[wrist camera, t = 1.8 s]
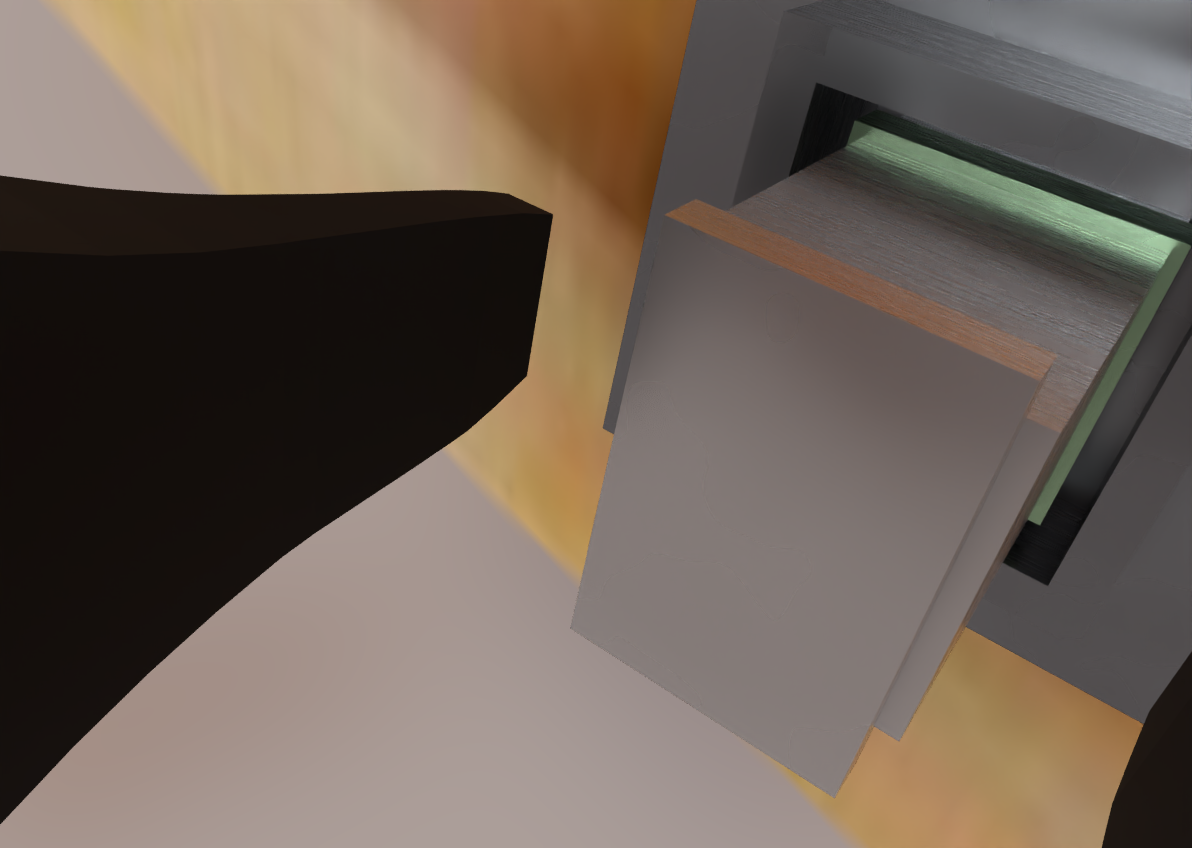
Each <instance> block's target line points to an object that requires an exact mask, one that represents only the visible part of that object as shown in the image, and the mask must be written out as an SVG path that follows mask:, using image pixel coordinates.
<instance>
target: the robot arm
mask: <svg viewBox="0 0 1192 848" xmlns="http://www.w3.org/2000/svg"><path fill="white" fill-rule="evenodd" d="M552 219H553V214H551V213H549V212H547V211H544V210H542V209H540V208H538V207H536V206H534V205H531V204H529V203H527V202H525V201H523V200H521V199H518V198H516V197H514V196H512V195H510V194H505V193H497V192H488V191H467V190H430V191H393V192H364V193H335V194H262V195H208V194H180V193H160V192H145V191H130V190H116V189H104V188H94V187H84V186H77V185H69V184H60V183H54V182H45V181H37V180H30V179H23V178H14V177H7V176H0V824H1V823H2V822H3V821H4V820H5V819H6V818H7V817H8V816H9V815H10V813H11V812H12V811H13V810H14V809H15V808H16V807H17V806H18V805H19V804H20V803H21V802H22V801H23V800H24V798H25V797H26V796H27V795H28V794H29V793H30V792H31V791H32V790H33V789H34V788H35V787H36V786H37V785H38V784H39V783H40V782H41V781H42V780H43V778H44V777H45V776H46V775H47V774H48V773H49V772H50V771H51V770H52V769H53V768H54V767H55V766H56V764H58V762H59V761H60V760H61V759H62V758H63V757H64V756H65V755H66V754H67V753H68V752H69V751H70V750H71V749H72V748H73V747H74V746H75V745H76V744H77V743H78V742H79V741H80V740H81V739H82V738H83V737H84V736H85V735H86V734H87V733H88V732H89V731H90V730H91V729H92V728H93V727H94V726H95V725H96V724H97V723H98V722H99V721H100V720H101V719H102V718H103V717H104V716H105V715H106V714H107V713H108V712H109V711H110V710H111V709H112V708H114V707H115V706H116V705H117V704H118V703H119V702H120V701H121V700H122V699H123V698H124V697H125V696H126V695H127V694H128V693H129V692H130V691H131V690H132V689H133V688H134V687H135V686H136V685H137V684H138V683H139V682H140V681H141V680H142V679H143V678H144V677H145V676H146V675H147V674H148V673H149V672H150V671H152V670H153V669H154V668H155V667H156V666H157V665H158V664H159V663H160V662H162V661H163V660H164V659H165V658H166V657H167V656H168V655H169V654H170V653H172V652H173V651H174V650H175V649H176V648H177V647H178V646H179V645H180V644H182V642H184V641H185V640H186V639H187V638H188V637H189V636H190V635H191V634H193V633H194V632H195V631H196V630H197V629H198V628H199V627H200V626H201V625H203V624H204V623H205V622H206V621H207V620H208V619H209V618H210V617H211V616H212V615H214V614H215V613H216V612H217V611H218V610H219V609H221V608H222V607H223V606H224V605H225V604H226V603H228V602H229V601H230V600H231V599H233V598H234V597H235V596H236V595H237V594H238V593H240V592H241V591H242V590H243V589H244V588H246V587H247V586H248V585H249V584H250V583H251V582H253V581H254V580H255V579H256V578H257V577H259V576H260V575H261V574H262V573H263V572H265V571H266V570H267V569H268V568H269V567H271V566H272V565H273V564H274V563H275V562H277V561H278V560H279V559H280V558H282V557H283V556H284V555H286V554H287V553H288V552H290V551H291V550H292V549H294V548H295V547H297V546H298V545H299V544H301V543H302V542H303V541H305V540H306V539H307V538H309V537H310V536H312V535H313V534H314V533H316V532H317V531H319V530H320V529H322V528H323V527H325V526H326V525H328V524H329V523H331V522H332V521H334V520H335V519H337V518H339V517H340V516H342V515H343V514H344V513H346V512H348V511H349V510H351V509H352V508H353V507H355V506H357V505H358V504H360V503H361V502H363V501H364V500H366V499H367V498H369V497H370V496H372V495H373V494H375V493H376V492H378V491H379V490H381V489H382V488H384V487H385V486H387V485H388V484H390V483H392V482H393V481H395V480H396V479H398V478H399V477H400V476H402V475H404V474H405V473H407V472H408V471H410V470H411V469H413V468H414V467H416V466H417V465H419V464H420V463H422V462H423V461H424V460H426V459H427V458H429V457H430V456H432V455H433V454H435V453H436V452H438V451H439V450H441V449H442V448H444V447H445V446H447V445H448V444H450V443H451V442H452V441H454V440H455V439H457V438H458V437H459V436H461V435H462V434H464V433H465V432H467V431H468V430H469V429H470V428H471V427H472V426H474V425H475V424H476V423H477V422H478V421H479V420H480V419H482V418H483V417H484V416H485V415H486V414H487V413H488V412H489V411H491V410H492V409H493V408H494V407H495V406H496V405H497V404H498V403H499V402H500V401H501V400H502V399H503V398H504V397H505V396H507V395H508V394H509V393H510V392H511V391H512V390H513V389H514V388H515V387H516V386H517V385H518V384H519V383H520V382H521V381H522V380H523V379H524V378H525V377H526V376H527V372H528V365H529V359H530V353H531V347H532V341H533V335H534V329H535V323H536V316H537V310H538V304H539V298H540V292H541V286H542V280H543V274H544V268H545V261H546V255H547V249H548V243H549V237H550V231H551V225H552ZM1102 848H1192V652H1191V653H1190V654H1189V656H1188V657H1187V659H1186V660H1185V662H1184V663H1183V664H1182V666H1181V667H1180V669H1179V670H1178V671H1177V673H1176V674H1175V676H1174V677H1173V678H1172V680H1171V681H1170V683H1169V684H1168V685H1167V687H1166V688H1165V690H1164V691H1163V692H1162V694H1161V695H1160V697H1159V698H1158V699H1157V701H1156V702H1155V704H1154V705H1153V706H1152V708H1151V709H1150V711H1149V713H1148V715H1147V718H1146V720H1145V723H1144V725H1143V728H1142V730H1141V732H1140V735H1139V737H1138V740H1137V742H1136V745H1135V747H1134V750H1133V752H1132V755H1131V757H1130V759H1129V762H1128V765H1127V767H1126V770H1125V772H1124V775H1123V777H1122V780H1121V783H1120V785H1119V788H1118V790H1117V793H1116V796H1115V798H1114V801H1113V803H1112V807H1111V811H1110V815H1109V819H1108V824H1107V828H1106V832H1105V836H1104V840H1103V845H1102Z"/></svg>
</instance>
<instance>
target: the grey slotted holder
mask: <svg viewBox="0 0 1192 848" xmlns="http://www.w3.org/2000/svg"><path fill="white" fill-rule="evenodd" d="M877 109H878V110H881V111H884V112H886V113H889V114H892V115H895V116H897V117H901V116H903V115H908V116H910V117H913V118H916V119H919V120H921V121H924V122H927V123H930V124H932V125H935V126H938V127H941V128H943V129H946V130H949V131H952V132H954V133H957V134H960V135H963V136H965V137H968V138H971V139H974V140H976V141H979V142H982V143H985V144H987V145H990V146H993V147H996V148H998V149H1001V150H1004V151H1007V152H1009V153H1012V154H1015V155H1018V156H1020V157H1023V158H1026V159H1029V160H1031V161H1034V162H1037V163H1040V164H1042V165H1045V166H1048V167H1051V168H1053V169H1056V170H1059V171H1062V172H1064V173H1067V174H1070V175H1073V176H1075V177H1078V178H1081V179H1084V180H1086V181H1089V182H1092V183H1095V184H1097V185H1100V186H1103V187H1106V188H1108V189H1111V190H1114V191H1117V192H1119V193H1122V194H1125V195H1128V196H1130V197H1133V198H1136V199H1139V200H1141V201H1144V202H1147V203H1150V204H1152V205H1155V206H1158V207H1161V208H1163V209H1166V210H1169V211H1172V212H1174V213H1177V214H1180V215H1183V216H1185V217H1188V218H1191V219H1190V221H1189V223H1190V224H1192V0H697V1H696V6H695V10H694V15H693V19H692V24H691V28H690V33H689V38H688V42H687V47H686V51H685V56H684V60H683V65H682V69H681V74H680V79H679V83H678V88H677V92H676V97H675V101H674V106H673V111H672V115H671V120H670V124H669V129H668V133H667V138H666V142H665V147H664V152H663V156H662V161H661V165H660V170H659V174H658V179H657V183H656V188H655V193H654V197H653V202H652V206H651V211H650V215H649V220H648V224H647V229H646V234H645V238H644V243H643V247H642V252H641V256H640V261H639V266H638V270H637V275H636V279H635V284H634V288H633V293H632V297H631V302H630V307H629V311H628V316H627V320H626V325H625V329H624V334H623V338H622V343H621V348H620V352H619V357H618V361H617V366H616V370H615V375H614V380H613V384H612V389H611V393H610V398H609V402H608V407H607V411H606V416H605V421H604V425H603V429H605V430H607V431H609V432H611V433H613V434H614V433H615V428H616V424H617V419H618V415H619V411H620V406H621V402H622V397H623V393H624V389H625V384H626V380H627V375H628V371H629V367H630V362H631V358H632V353H633V349H634V345H635V340H636V336H637V332H638V327H639V323H640V318H641V314H642V310H643V305H644V301H645V296H646V292H647V288H648V283H649V279H650V274H651V270H652V266H653V261H654V257H655V252H656V248H657V245H658V241H659V236H660V232H661V228H662V223H663V219H664V215H665V214H667V213H669V212H671V211H673V210H675V209H677V208H679V207H681V206H683V205H685V204H687V203H689V202H691V201H693V200H695V199H698V200H700V201H702V202H704V203H707V204H709V205H711V206H714V207H716V208H718V209H721V210H723V211H726V210H728V209H730V208H732V207H734V206H736V205H738V204H739V203H741V202H743V201H745V200H747V199H749V198H751V197H752V196H754V195H756V194H758V193H760V192H762V191H764V190H765V189H767V188H769V187H771V186H773V185H775V184H777V183H778V182H780V181H782V180H784V179H786V178H788V177H790V176H791V175H793V174H795V173H797V172H799V171H801V170H803V169H805V168H806V167H808V166H810V165H812V164H814V163H816V162H818V161H819V160H821V159H823V158H825V157H827V156H829V155H831V154H832V153H834V152H836V151H838V150H840V149H842V148H844V147H845V146H847V143H848V140H849V137H850V134H851V131H852V128H853V125H854V121H855V120H857V119H859V118H861V117H863V116H865V115H867V114H869V113H871V112H873V111H875V110H877ZM966 627H967V628H969V629H971V630H973V631H975V632H976V633H978V634H980V635H982V636H984V637H986V638H987V639H989V640H991V641H993V642H995V643H997V644H998V645H1000V646H1002V647H1004V648H1006V649H1008V650H1009V651H1011V652H1013V653H1015V654H1017V655H1018V656H1020V657H1022V658H1024V659H1026V660H1028V661H1029V662H1031V663H1033V664H1035V665H1037V666H1039V667H1040V668H1042V669H1044V670H1046V671H1048V672H1050V673H1051V674H1053V675H1055V676H1057V677H1059V678H1061V679H1062V680H1064V681H1066V682H1068V683H1070V684H1072V685H1073V686H1075V687H1077V688H1079V689H1081V690H1082V691H1084V692H1086V693H1088V694H1090V695H1092V696H1093V697H1095V698H1097V699H1099V700H1101V701H1103V702H1104V703H1106V704H1108V705H1110V706H1112V707H1114V708H1115V709H1117V710H1119V711H1121V712H1123V713H1125V714H1126V715H1128V716H1130V717H1132V718H1134V719H1136V720H1137V721H1139V722H1141V723H1143V724H1144V723H1145V720H1146V718H1147V715H1148V713H1149V711H1150V709H1151V708H1152V706H1153V705H1154V704H1155V702H1156V701H1157V699H1158V698H1159V697H1160V695H1161V694H1162V692H1163V691H1164V690H1165V688H1166V687H1167V685H1168V684H1169V683H1170V681H1171V680H1172V678H1173V677H1174V676H1175V674H1176V673H1177V671H1178V670H1179V669H1180V667H1181V666H1182V664H1183V663H1184V662H1185V660H1186V659H1187V657H1188V656H1189V654H1190V653H1191V652H1192V247H1191V249H1190V250H1189V252H1188V254H1187V256H1186V258H1185V260H1184V261H1183V263H1182V265H1181V267H1180V269H1179V271H1178V272H1177V274H1176V276H1175V278H1174V280H1173V282H1172V284H1171V285H1170V287H1169V289H1168V291H1167V293H1166V295H1165V296H1164V298H1163V300H1162V302H1161V304H1160V306H1159V308H1158V309H1157V311H1156V313H1155V315H1154V317H1153V319H1152V320H1151V322H1150V324H1149V326H1148V328H1147V330H1146V331H1145V333H1144V335H1143V337H1142V339H1141V341H1140V343H1139V344H1138V346H1137V348H1136V350H1135V352H1134V354H1133V355H1132V357H1131V359H1130V361H1129V363H1128V365H1127V367H1126V368H1125V370H1124V372H1123V374H1122V376H1121V378H1120V379H1119V381H1118V383H1117V385H1116V387H1115V389H1114V390H1113V392H1112V394H1111V396H1110V398H1109V400H1108V402H1107V403H1106V405H1105V407H1104V409H1103V411H1102V413H1101V414H1100V416H1099V418H1098V420H1097V422H1096V424H1095V426H1094V427H1093V429H1092V431H1091V433H1090V435H1089V437H1088V438H1087V440H1086V442H1085V444H1084V446H1083V448H1082V449H1081V451H1080V453H1079V455H1078V457H1077V459H1076V461H1075V462H1074V464H1073V466H1072V468H1071V470H1070V472H1069V473H1068V475H1067V477H1066V479H1065V481H1064V483H1063V485H1062V486H1061V488H1060V490H1059V492H1058V494H1057V496H1056V497H1055V499H1054V501H1053V503H1052V505H1051V506H1050V508H1049V510H1048V512H1047V514H1046V515H1045V517H1044V519H1043V521H1042V523H1041V524H1040V525H1038V524H1036V523H1034V522H1032V521H1030V520H1027V522H1026V523H1025V525H1024V527H1023V528H1022V530H1021V532H1020V534H1019V535H1018V537H1017V539H1016V541H1015V542H1014V544H1013V546H1012V548H1011V549H1010V551H1009V553H1008V554H1007V556H1006V558H1005V560H1004V561H1003V563H1002V565H1001V567H1000V568H999V570H998V572H997V573H996V575H995V577H994V579H993V580H992V582H991V584H990V586H989V587H988V589H987V591H986V592H985V594H984V596H983V598H982V599H981V601H980V603H979V605H978V606H977V608H976V610H975V611H974V613H973V615H972V617H971V618H970V620H969V622H968V624H967V625H966Z"/></svg>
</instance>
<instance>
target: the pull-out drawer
mask: <svg viewBox="0 0 1192 848" xmlns="http://www.w3.org/2000/svg"><path fill="white" fill-rule="evenodd" d="M1190 219H1191V218H1188V217H1185V216H1183V215H1180V214H1177V213H1174V212H1172V211H1169V210H1166V209H1163V208H1161V207H1158V206H1155V205H1152V204H1150V203H1147V202H1144V201H1141V200H1139V199H1136V198H1133V197H1130V196H1128V195H1125V194H1122V193H1119V192H1117V191H1114V190H1111V189H1108V188H1106V187H1103V186H1100V185H1097V184H1095V183H1092V182H1089V181H1086V180H1084V179H1081V178H1078V177H1075V176H1073V175H1070V174H1067V173H1064V172H1062V171H1059V170H1056V169H1053V168H1051V167H1048V166H1045V165H1042V164H1040V163H1037V162H1034V161H1031V160H1029V159H1026V158H1023V157H1020V156H1018V155H1015V154H1012V153H1009V152H1007V151H1004V150H1001V149H998V148H996V147H993V146H990V145H987V144H985V143H982V142H979V141H976V140H974V139H971V138H968V137H965V136H963V135H960V134H957V133H954V132H952V131H949V130H946V129H943V128H941V127H938V126H935V125H932V124H930V123H927V122H924V121H921V120H919V119H916V118H913V117H910V116H908V115H903V116H901V117H897V116H895V115H892V114H889V113H886V112H884V111H881V110H878V109H877V110H875V111H873V112H871V113H869V114H867V115H865V116H863V117H861V118H859V119H857V120H855V121H854V125H853V128H852V131H851V134H850V137H849V140H848V143H847V146H845V147H844V148H842V149H840V150H838V151H836V152H834V153H832V154H831V155H829V156H827V157H825V158H823V159H821V160H819V161H818V162H816V163H814V164H812V165H810V166H808V167H806V168H805V169H803V170H801V171H799V172H797V173H795V174H793V175H791V176H790V177H788V178H786V179H784V180H782V181H780V182H778V183H777V184H775V185H773V186H771V187H769V188H767V189H765V190H764V191H762V192H760V193H758V194H756V195H754V196H752V197H751V198H749V199H747V200H745V201H743V202H741V203H739V204H738V205H736V206H734V207H732V208H730V209H728V210H726V211H723V210H721V209H718V208H716V207H714V206H711V205H709V204H707V203H704V202H702V201H700V200H698V199H695V200H693V201H691V202H689V203H687V204H685V205H683V206H681V207H679V208H677V209H675V210H673V211H671V212H669V213H667V214H665V215H664V219H663V223H662V228H661V232H660V236H659V241H658V245H657V248H656V252H655V257H654V261H653V266H652V270H651V274H650V279H649V283H648V288H647V292H646V296H645V301H644V305H643V310H642V314H641V318H640V323H639V327H638V332H637V336H636V340H635V345H634V349H633V353H632V358H631V362H630V367H629V371H628V375H627V380H626V384H625V389H624V393H623V397H622V402H621V406H620V411H619V415H618V419H617V424H616V428H615V433H614V437H613V441H612V446H611V450H610V454H609V459H608V463H607V468H606V472H605V476H604V481H603V485H602V490H601V494H600V498H599V503H598V507H597V512H596V516H595V520H594V525H593V529H592V534H591V538H590V542H589V547H588V551H587V557H586V561H585V566H584V570H583V574H582V579H581V583H580V588H579V592H578V596H577V601H576V606H575V609H574V614H573V619H572V623H571V627H570V628H571V629H572V630H574V631H575V632H577V633H578V634H580V635H581V636H583V637H584V638H586V639H588V640H589V641H591V642H592V643H594V644H595V645H597V646H598V647H600V648H602V649H603V650H605V651H606V652H608V653H609V654H611V655H612V656H614V657H616V658H617V659H619V660H620V661H622V662H623V663H625V664H627V665H628V666H630V667H631V668H633V669H634V670H636V671H637V672H639V673H640V674H642V675H644V676H645V677H647V678H648V679H650V680H651V681H653V682H654V683H656V684H658V685H659V686H661V687H662V688H664V689H665V690H667V691H669V692H671V693H672V694H673V695H675V696H676V697H678V698H679V699H681V700H682V701H684V702H686V703H687V704H689V705H690V706H692V707H693V708H695V709H696V710H698V711H700V712H701V713H703V714H704V715H706V716H707V717H709V718H710V719H712V720H714V721H715V722H717V723H718V724H720V725H721V726H723V727H724V728H726V729H728V730H729V731H731V732H732V733H734V734H735V735H737V736H739V737H740V738H742V739H743V740H745V741H746V742H748V743H749V744H751V745H753V746H754V747H756V748H757V749H759V750H760V751H762V752H763V753H765V754H767V755H768V756H770V757H771V758H773V759H774V760H776V761H777V762H779V763H781V764H782V765H784V766H785V767H787V768H788V769H790V770H791V771H793V772H795V773H796V774H798V775H799V776H801V777H802V778H804V779H805V780H807V781H809V782H810V783H812V784H813V785H815V786H816V787H818V788H819V789H821V790H823V791H824V792H826V793H827V794H829V795H830V796H832V797H833V798H835V797H836V795H837V793H838V792H839V790H840V788H841V787H842V785H843V784H844V782H845V780H846V779H847V777H848V775H849V774H850V772H851V770H852V769H853V767H854V766H855V764H856V762H857V760H858V758H859V756H860V754H861V752H862V750H863V748H864V746H865V744H866V742H867V740H868V738H869V736H870V734H871V732H872V730H873V728H874V727H876V728H878V729H879V730H881V731H883V732H884V733H886V734H888V735H889V736H891V737H893V738H894V739H896V740H898V741H900V739H901V738H902V736H903V734H904V732H905V731H906V729H907V727H908V725H909V724H910V722H911V720H912V719H913V717H914V715H915V713H916V712H917V710H918V708H919V706H920V705H921V703H922V701H923V700H924V698H925V696H926V694H927V693H928V691H929V689H930V687H931V686H932V684H933V682H934V681H935V679H936V677H937V675H938V674H939V672H940V670H941V668H942V667H943V665H944V663H945V662H946V660H947V658H948V656H949V655H950V653H951V651H952V649H953V648H954V646H955V644H956V643H957V641H958V639H959V637H960V636H961V634H962V632H963V630H964V629H965V627H966V625H967V624H968V622H969V620H970V618H971V617H972V615H973V613H974V611H975V610H976V608H977V606H978V605H979V603H980V601H981V599H982V598H983V596H984V594H985V592H986V591H987V589H988V587H989V586H990V584H991V582H992V580H993V579H994V577H995V575H996V573H997V572H998V570H999V568H1000V567H1001V565H1002V563H1003V561H1004V560H1005V558H1006V556H1007V554H1008V553H1009V551H1010V549H1011V548H1012V546H1013V544H1014V542H1015V541H1016V539H1017V537H1018V535H1019V534H1020V532H1021V530H1022V528H1023V527H1024V525H1025V523H1026V522H1027V520H1030V521H1032V522H1034V523H1036V524H1038V525H1040V524H1041V523H1042V521H1043V519H1044V517H1045V515H1046V514H1047V512H1048V510H1049V508H1050V506H1051V505H1052V503H1053V501H1054V499H1055V497H1056V496H1057V494H1058V492H1059V490H1060V488H1061V486H1062V485H1063V483H1064V481H1065V479H1066V477H1067V475H1068V473H1069V472H1070V470H1071V468H1072V466H1073V464H1074V462H1075V461H1076V459H1077V457H1078V455H1079V453H1080V451H1081V449H1082V448H1083V446H1084V444H1085V442H1086V440H1087V438H1088V437H1089V435H1090V433H1091V431H1092V429H1093V427H1094V426H1095V424H1096V422H1097V420H1098V418H1099V416H1100V414H1101V413H1102V411H1103V409H1104V407H1105V405H1106V403H1107V402H1108V400H1109V398H1110V396H1111V394H1112V392H1113V390H1114V389H1115V387H1116V385H1117V383H1118V381H1119V379H1120V378H1121V376H1122V374H1123V372H1124V370H1125V368H1126V367H1127V365H1128V363H1129V361H1130V359H1131V357H1132V355H1133V354H1134V352H1135V350H1136V348H1137V346H1138V344H1139V343H1140V341H1141V339H1142V337H1143V335H1144V333H1145V331H1146V330H1147V328H1148V326H1149V324H1150V322H1151V320H1152V319H1153V317H1154V315H1155V313H1156V311H1157V309H1158V308H1159V306H1160V304H1161V302H1162V300H1163V298H1164V296H1165V295H1166V293H1167V291H1168V289H1169V287H1170V285H1171V284H1172V282H1173V280H1174V278H1175V276H1176V274H1177V272H1178V271H1179V269H1180V267H1181V265H1182V263H1183V261H1184V260H1185V258H1186V256H1187V254H1188V252H1189V250H1190V249H1191V247H1192V224H1190V223H1189V221H1190Z"/></svg>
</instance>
